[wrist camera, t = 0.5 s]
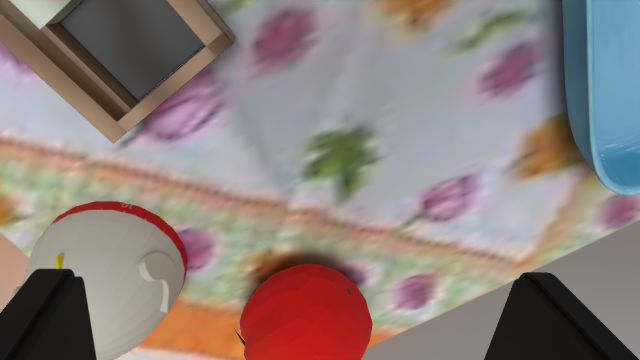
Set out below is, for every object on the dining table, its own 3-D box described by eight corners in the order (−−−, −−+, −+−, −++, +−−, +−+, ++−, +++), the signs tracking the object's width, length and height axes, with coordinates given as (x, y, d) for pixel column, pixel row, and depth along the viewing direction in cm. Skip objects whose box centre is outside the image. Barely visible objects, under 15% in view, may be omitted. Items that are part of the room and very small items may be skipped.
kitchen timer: (157, 185, 39) (102, 292, 26) (205, 293, 45) (182, 425, 32) (13, 221, 39) (-119, 348, 25) (81, 325, 45) (4, 472, 31)
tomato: (335, 235, 48) (244, 292, 50) (308, 251, 35) (189, 325, 37) (395, 333, 46) (298, 387, 48) (389, 386, 34) (259, 455, 36)
